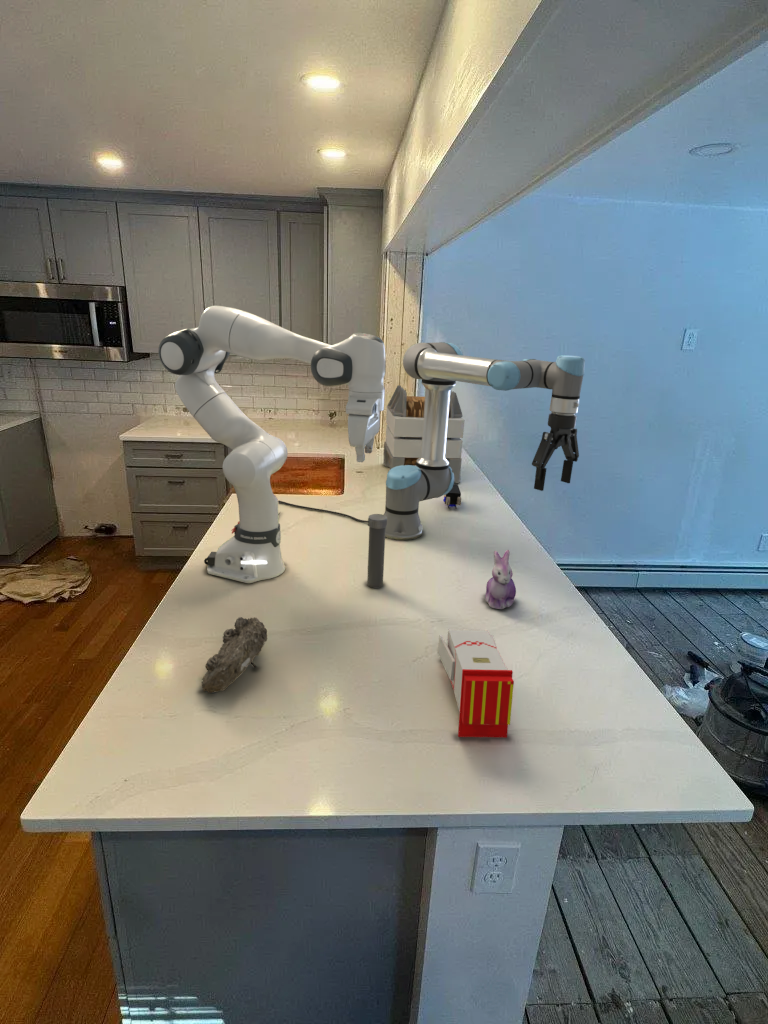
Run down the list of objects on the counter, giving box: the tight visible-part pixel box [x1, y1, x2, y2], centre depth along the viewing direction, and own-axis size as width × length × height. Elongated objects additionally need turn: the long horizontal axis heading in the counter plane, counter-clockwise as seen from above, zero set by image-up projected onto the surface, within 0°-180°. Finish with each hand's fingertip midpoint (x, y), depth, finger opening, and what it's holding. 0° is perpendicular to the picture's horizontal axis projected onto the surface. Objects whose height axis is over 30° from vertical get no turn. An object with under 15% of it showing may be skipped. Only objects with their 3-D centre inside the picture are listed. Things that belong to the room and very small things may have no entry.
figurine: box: [484, 549, 517, 610], centre depth 153 cm, size 9×10×15 cm
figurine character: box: [442, 483, 462, 510], centre depth 230 cm, size 7×8×15 cm
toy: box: [437, 628, 515, 738], centre depth 117 cm, size 12×13×30 cm
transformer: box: [383, 384, 465, 484], centre depth 268 cm, size 34×33×41 cm
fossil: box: [201, 616, 268, 694], centre depth 122 cm, size 22×10×15 cm
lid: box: [367, 513, 387, 529], centre depth 156 cm, size 5×5×2 cm
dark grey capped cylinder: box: [366, 526, 386, 589], centre depth 159 cm, size 4×4×20 cm
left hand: (364, 457), depth 144 cm, fingers open, 8 cm apart
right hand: (552, 485), depth 166 cm, fingers open, 13 cm apart
